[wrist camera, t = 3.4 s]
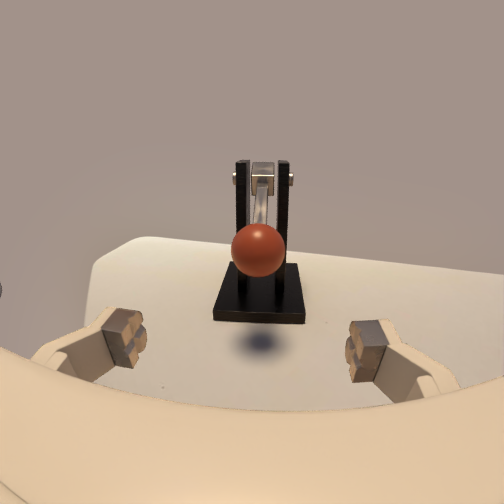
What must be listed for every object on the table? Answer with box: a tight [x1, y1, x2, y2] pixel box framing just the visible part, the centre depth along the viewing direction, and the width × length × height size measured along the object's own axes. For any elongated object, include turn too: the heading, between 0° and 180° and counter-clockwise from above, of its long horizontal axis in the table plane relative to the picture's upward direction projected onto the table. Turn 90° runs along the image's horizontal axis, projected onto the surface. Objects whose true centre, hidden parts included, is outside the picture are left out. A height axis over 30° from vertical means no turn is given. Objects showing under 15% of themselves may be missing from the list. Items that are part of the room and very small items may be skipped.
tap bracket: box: [213, 160, 306, 324], centre depth 30 cm, size 12×9×15 cm
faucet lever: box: [231, 162, 285, 277], centre depth 24 cm, size 13×4×4 cm, turn 175°
